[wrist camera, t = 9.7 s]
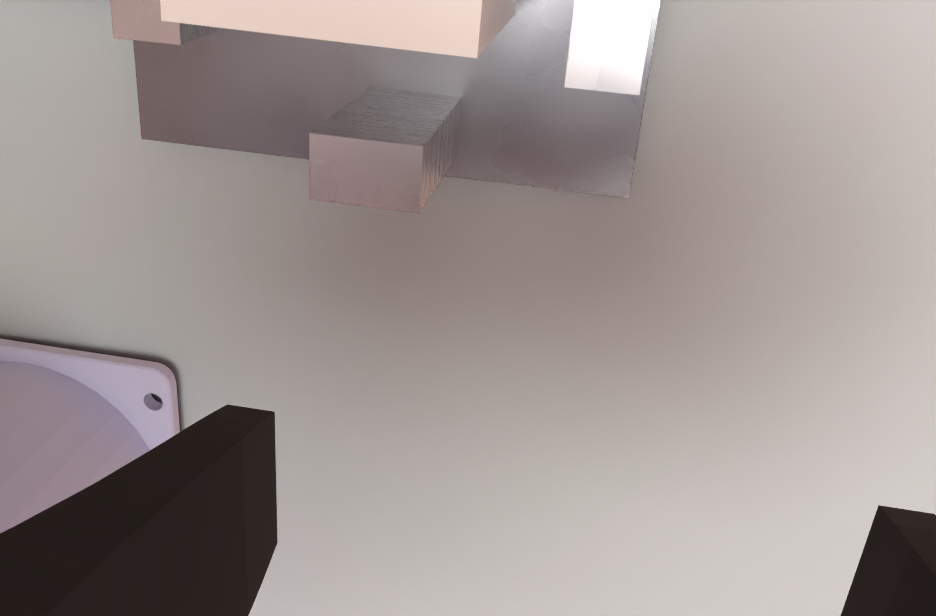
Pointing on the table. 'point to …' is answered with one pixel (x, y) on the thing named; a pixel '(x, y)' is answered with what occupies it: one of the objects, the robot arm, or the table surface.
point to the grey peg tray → (409, 101)
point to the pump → (358, 21)
